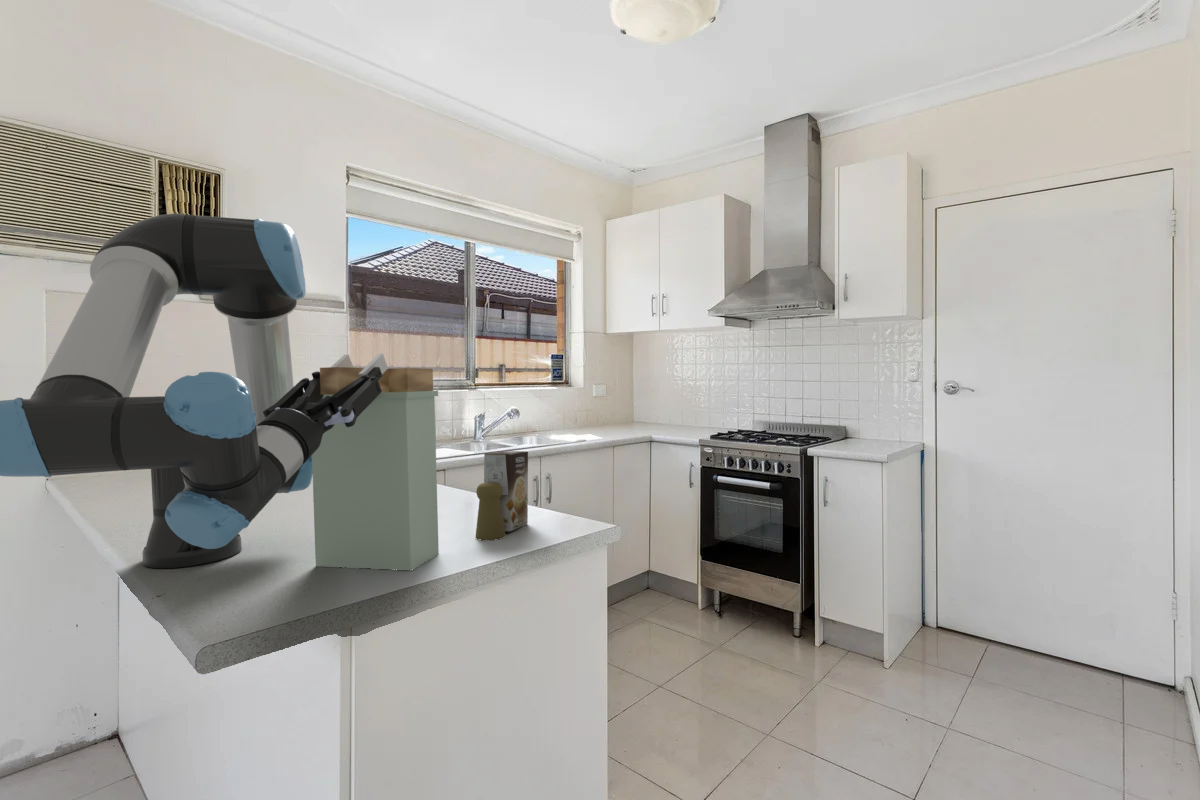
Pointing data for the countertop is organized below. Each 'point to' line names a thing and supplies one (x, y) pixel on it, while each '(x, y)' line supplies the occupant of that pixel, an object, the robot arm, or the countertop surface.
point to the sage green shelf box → (378, 486)
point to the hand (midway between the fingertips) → (366, 361)
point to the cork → (489, 512)
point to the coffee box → (510, 484)
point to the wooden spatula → (389, 382)
